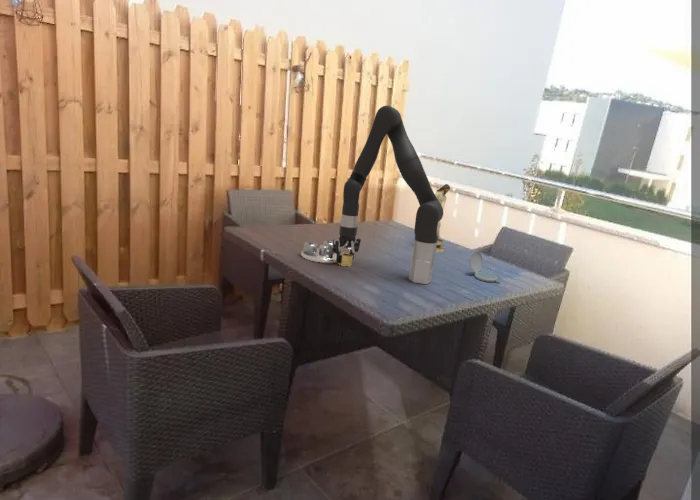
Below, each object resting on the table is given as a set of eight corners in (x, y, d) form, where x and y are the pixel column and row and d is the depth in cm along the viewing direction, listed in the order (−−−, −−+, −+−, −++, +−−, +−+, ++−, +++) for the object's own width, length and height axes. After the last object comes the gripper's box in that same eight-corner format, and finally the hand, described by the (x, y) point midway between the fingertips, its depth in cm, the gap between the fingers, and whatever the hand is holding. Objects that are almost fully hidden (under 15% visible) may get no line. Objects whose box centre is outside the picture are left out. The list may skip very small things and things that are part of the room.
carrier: (341, 265, 206) (342, 251, 204) (296, 259, 207) (297, 245, 206) (346, 254, 225) (348, 241, 223) (305, 248, 227) (306, 235, 225)
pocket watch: (481, 249, 217) (510, 259, 206) (477, 272, 220) (505, 282, 209) (468, 251, 210) (498, 261, 200) (464, 275, 213) (493, 285, 202)
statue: (443, 254, 246) (454, 187, 237) (410, 248, 251) (420, 182, 242) (447, 247, 262) (457, 184, 253) (416, 241, 267) (426, 179, 257)
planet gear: (350, 267, 205) (352, 257, 204) (337, 265, 206) (338, 255, 205) (352, 263, 211) (353, 253, 210) (339, 261, 211) (340, 252, 210)
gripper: (356, 222, 211) (352, 258, 216) (330, 223, 202) (326, 261, 207) (367, 226, 206) (362, 262, 210) (340, 227, 197) (336, 266, 201)
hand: (344, 261), depth 208 cm, fingers closed on planet gear, 6 cm apart
